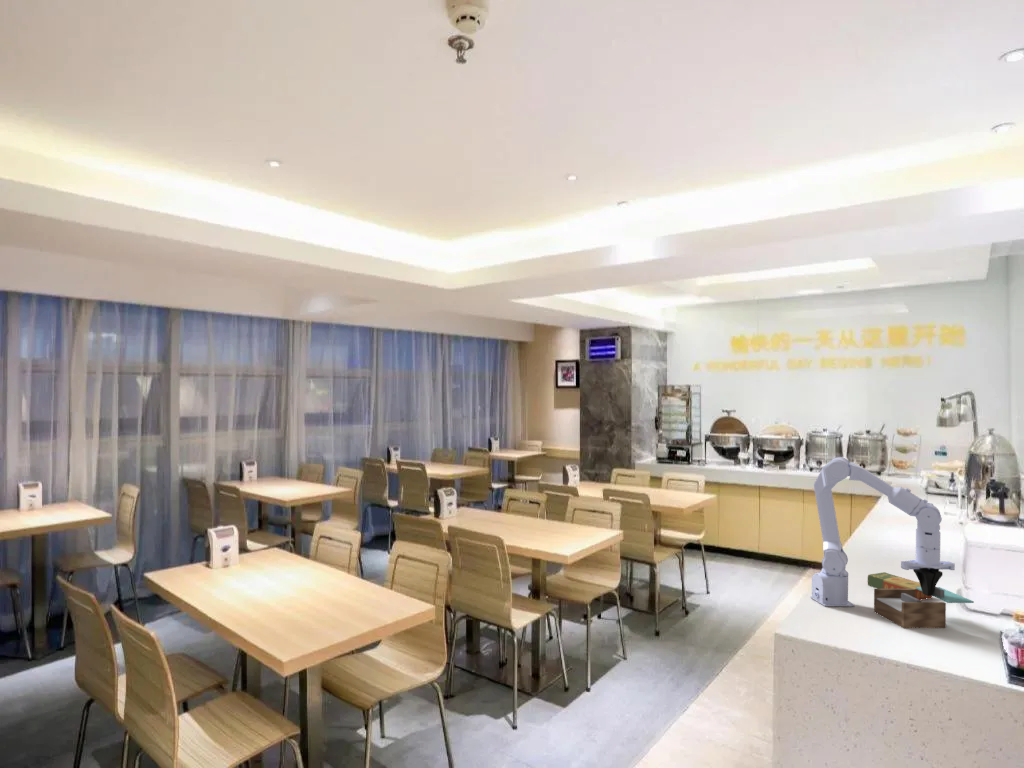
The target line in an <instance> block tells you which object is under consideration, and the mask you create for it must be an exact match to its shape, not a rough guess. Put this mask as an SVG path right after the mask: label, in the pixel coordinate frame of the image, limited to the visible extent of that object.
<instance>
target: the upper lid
mask: <svg viewBox="0 0 1024 768" xmlns="http://www.w3.org/2000/svg"><path fill="white" fill-rule="evenodd" d="M916 589H918V590H920V591H922V589H921V587H916ZM932 597H933V598H936V599H938V600H941V601H942V602H944V603H947V604H974V603H975V602H974V601H973V600H972V599H969V598H966V597H964V596H962V595H959V594H958V593H955V592H952V591H950V590H947V589H946V588H942V587H941V586H935V589H934V592H933V595H932Z"/></svg>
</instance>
